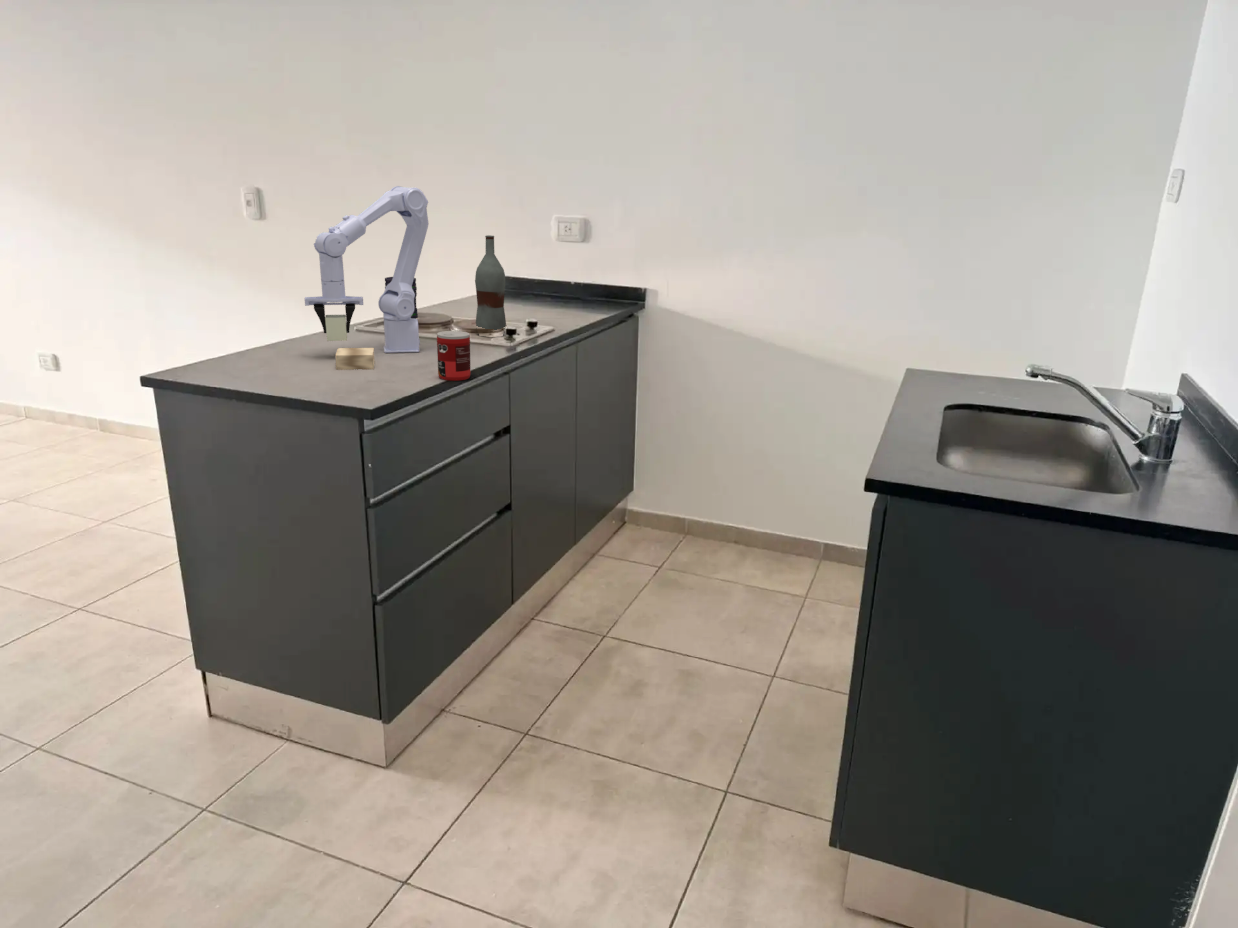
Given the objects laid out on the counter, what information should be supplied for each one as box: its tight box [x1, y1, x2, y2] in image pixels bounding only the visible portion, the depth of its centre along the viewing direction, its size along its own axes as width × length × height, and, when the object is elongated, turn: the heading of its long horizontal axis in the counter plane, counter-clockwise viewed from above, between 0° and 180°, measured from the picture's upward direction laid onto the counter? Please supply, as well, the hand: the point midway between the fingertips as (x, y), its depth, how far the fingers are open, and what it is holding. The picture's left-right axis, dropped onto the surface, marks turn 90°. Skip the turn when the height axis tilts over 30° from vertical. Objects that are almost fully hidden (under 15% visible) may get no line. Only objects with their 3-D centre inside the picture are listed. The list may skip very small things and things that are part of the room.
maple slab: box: [334, 347, 376, 371], centre depth 218 cm, size 9×9×4 cm
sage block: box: [325, 314, 348, 342], centre depth 224 cm, size 5×5×6 cm
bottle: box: [474, 234, 507, 330], centre depth 259 cm, size 9×9×30 cm
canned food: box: [436, 330, 471, 382], centre depth 209 cm, size 8×8×11 cm
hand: (336, 332), depth 224 cm, fingers closed on sage block, 5 cm apart
